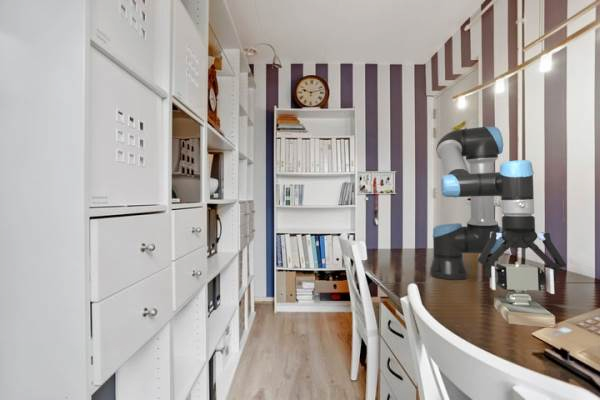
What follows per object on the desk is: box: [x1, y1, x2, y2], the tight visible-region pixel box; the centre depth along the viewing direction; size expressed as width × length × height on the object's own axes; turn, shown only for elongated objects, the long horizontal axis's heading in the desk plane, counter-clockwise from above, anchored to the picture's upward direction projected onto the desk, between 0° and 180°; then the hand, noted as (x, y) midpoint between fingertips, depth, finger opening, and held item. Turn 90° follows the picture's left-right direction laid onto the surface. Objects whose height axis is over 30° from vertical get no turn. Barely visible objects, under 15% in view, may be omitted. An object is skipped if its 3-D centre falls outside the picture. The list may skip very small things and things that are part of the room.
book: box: [493, 296, 556, 328], centre depth 83 cm, size 14×10×3 cm
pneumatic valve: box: [495, 261, 546, 306], centre depth 84 cm, size 6×12×12 cm, turn 78°
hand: (520, 290), depth 83 cm, fingers open, 13 cm apart
